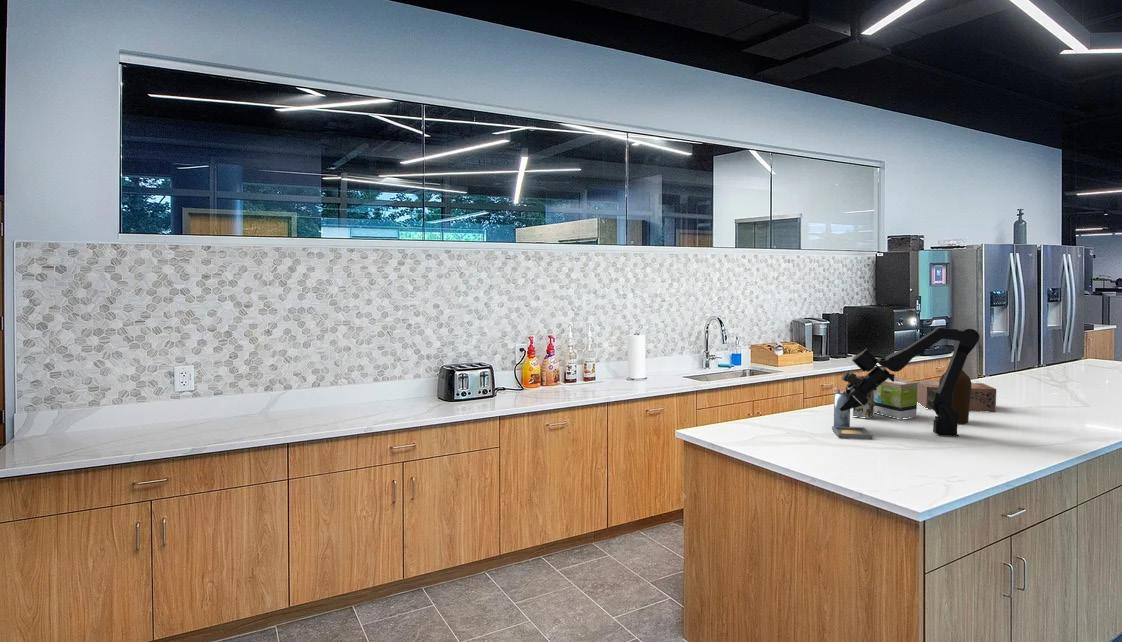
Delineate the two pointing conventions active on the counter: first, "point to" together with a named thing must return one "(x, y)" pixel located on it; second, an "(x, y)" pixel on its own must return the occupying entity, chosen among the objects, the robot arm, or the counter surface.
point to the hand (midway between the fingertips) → (839, 407)
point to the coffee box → (865, 407)
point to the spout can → (840, 416)
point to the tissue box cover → (979, 398)
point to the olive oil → (961, 397)
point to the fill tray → (852, 432)
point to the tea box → (896, 398)
